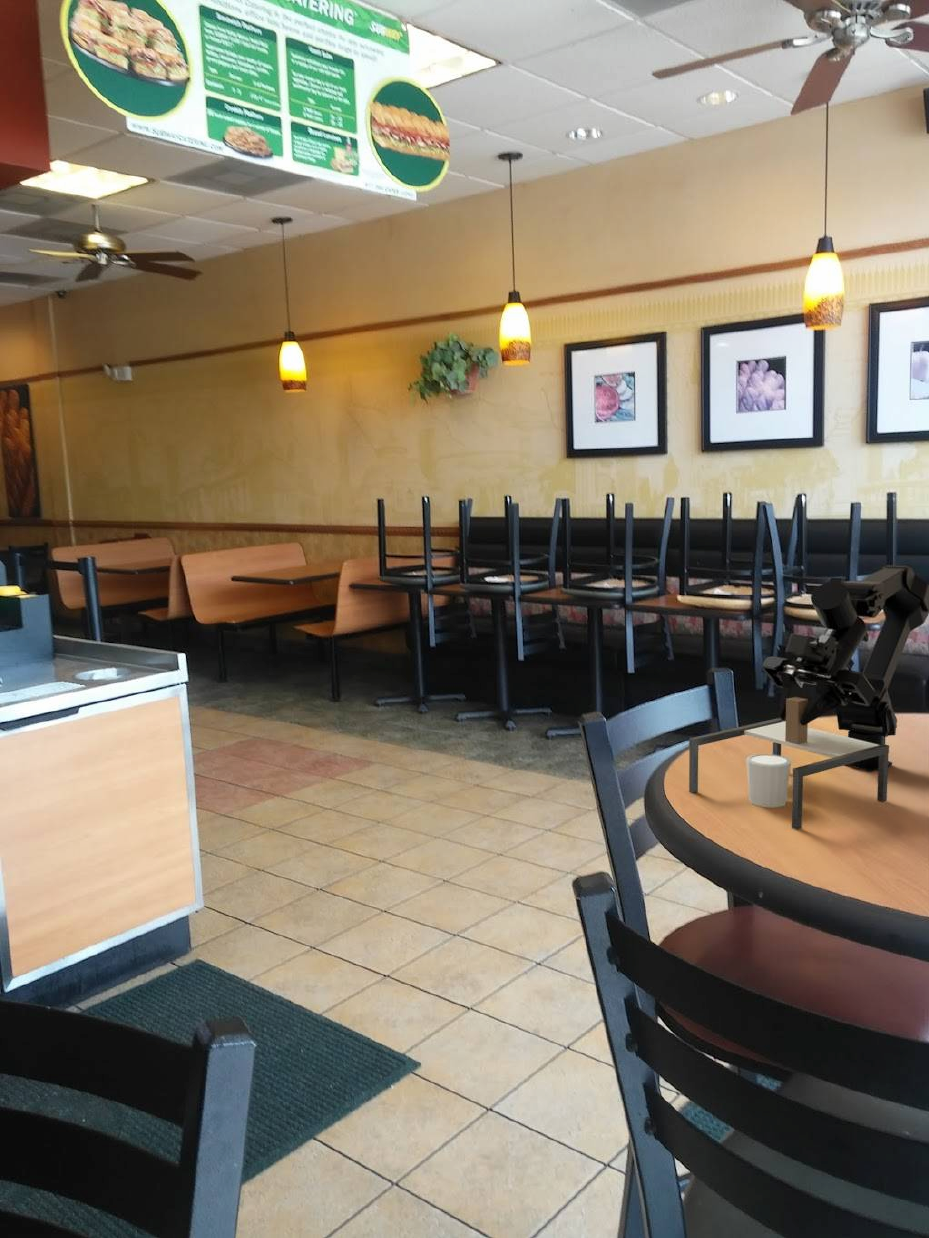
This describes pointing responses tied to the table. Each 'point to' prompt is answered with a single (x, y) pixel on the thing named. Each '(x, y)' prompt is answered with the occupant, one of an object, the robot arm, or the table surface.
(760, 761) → the white cup
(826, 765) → the cover frame
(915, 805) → the table surface
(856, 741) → the sliding cover
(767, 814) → the table surface
